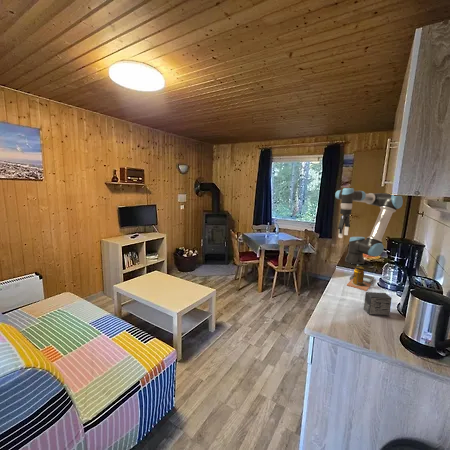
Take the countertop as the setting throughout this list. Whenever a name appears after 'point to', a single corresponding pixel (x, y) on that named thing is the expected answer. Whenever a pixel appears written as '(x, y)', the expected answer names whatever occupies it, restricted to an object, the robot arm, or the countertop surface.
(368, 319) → the countertop surface
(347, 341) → the countertop surface
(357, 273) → the condiment
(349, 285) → the tile
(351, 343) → the countertop surface
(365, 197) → the robot arm
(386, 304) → the small box
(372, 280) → the holder
